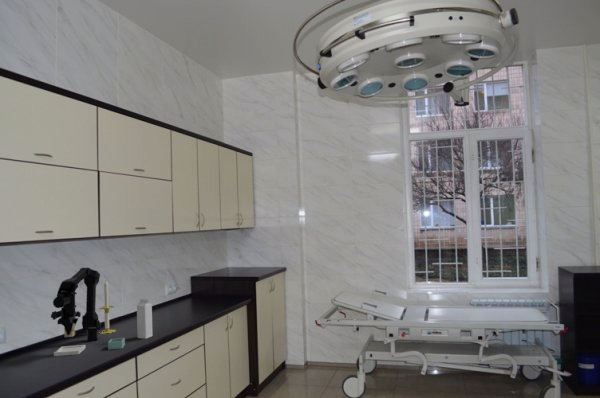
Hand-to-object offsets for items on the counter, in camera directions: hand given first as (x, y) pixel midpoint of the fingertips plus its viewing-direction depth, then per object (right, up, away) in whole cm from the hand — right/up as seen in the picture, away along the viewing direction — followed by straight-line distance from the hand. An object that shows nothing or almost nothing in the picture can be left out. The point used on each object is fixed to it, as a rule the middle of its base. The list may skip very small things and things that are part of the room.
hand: (69, 334), depth 242 cm
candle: (+2, -12, +42) cm, 44 cm away
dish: (0, -9, -1) cm, 9 cm away
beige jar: (0, -1, 0) cm, 1 cm away
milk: (+31, -10, +25) cm, 41 cm away
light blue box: (+23, -9, +5) cm, 25 cm away
